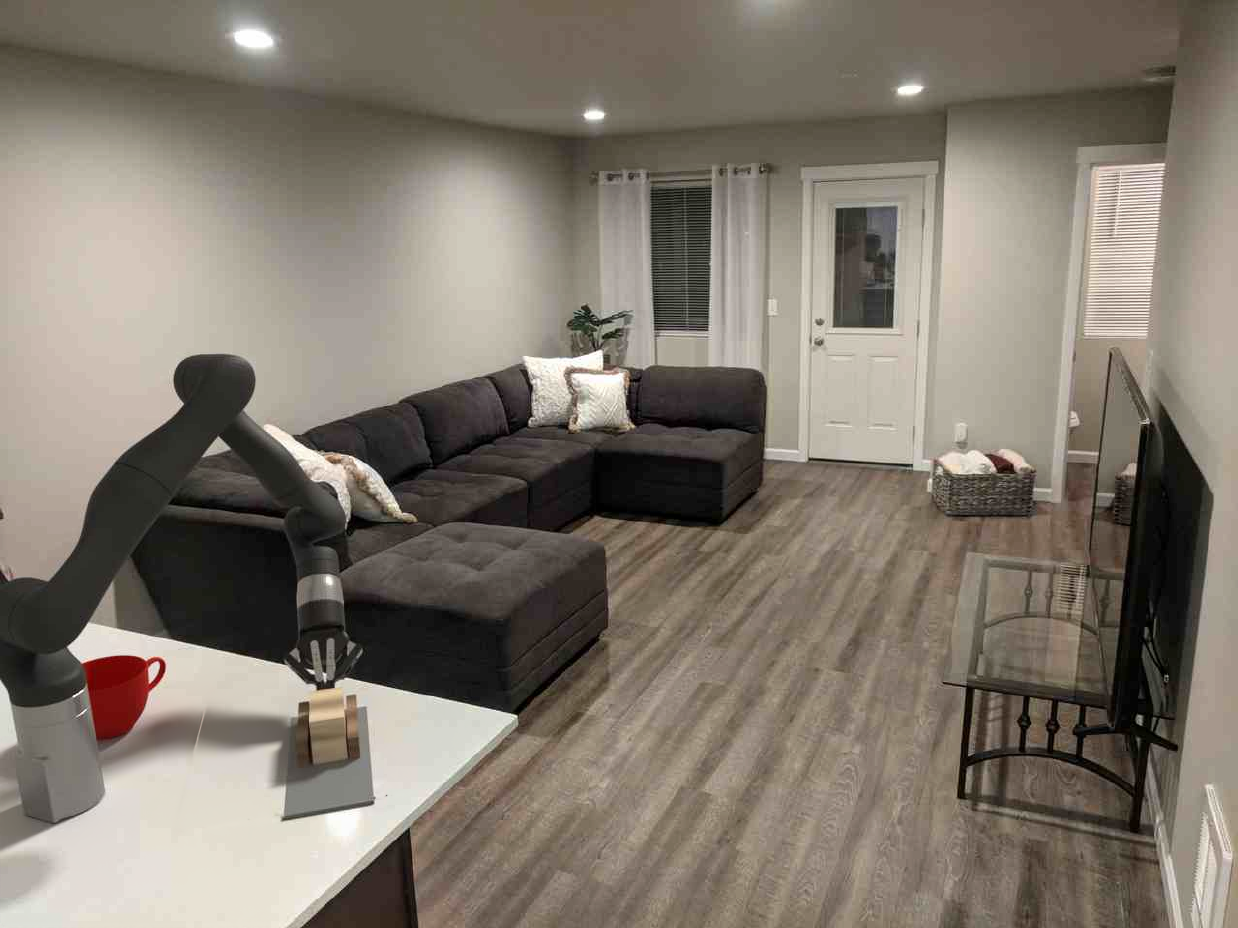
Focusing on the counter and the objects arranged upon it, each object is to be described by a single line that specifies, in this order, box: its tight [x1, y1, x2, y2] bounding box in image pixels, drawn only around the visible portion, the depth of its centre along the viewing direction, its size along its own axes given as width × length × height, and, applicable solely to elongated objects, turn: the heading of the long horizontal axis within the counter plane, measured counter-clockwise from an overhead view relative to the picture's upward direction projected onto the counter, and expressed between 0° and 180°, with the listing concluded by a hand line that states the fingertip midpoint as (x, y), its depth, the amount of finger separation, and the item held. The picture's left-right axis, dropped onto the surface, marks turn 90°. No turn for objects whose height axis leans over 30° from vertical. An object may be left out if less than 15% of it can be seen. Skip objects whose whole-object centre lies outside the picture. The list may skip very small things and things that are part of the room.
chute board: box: [283, 705, 375, 820], centre depth 143 cm, size 28×12×1 cm, turn 17°
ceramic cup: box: [81, 654, 167, 740], centre depth 153 cm, size 13×17×10 cm
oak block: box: [309, 686, 348, 764], centre depth 146 cm, size 10×5×7 cm, turn 17°
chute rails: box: [296, 694, 360, 768], centre depth 148 cm, size 14×9×4 cm, turn 17°
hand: (327, 705), depth 151 cm, fingers closed
